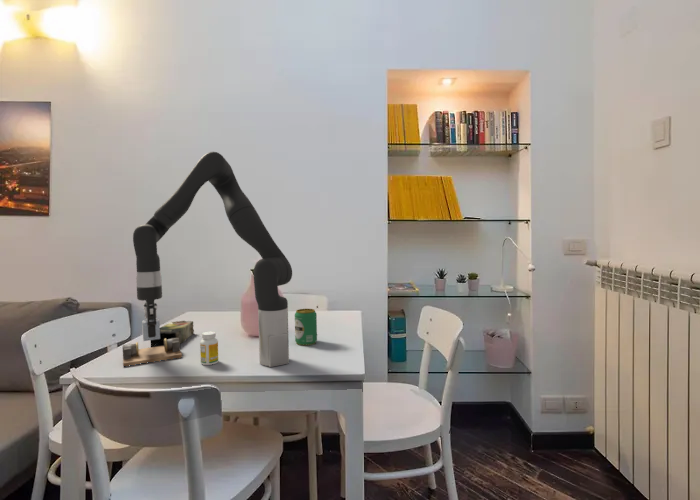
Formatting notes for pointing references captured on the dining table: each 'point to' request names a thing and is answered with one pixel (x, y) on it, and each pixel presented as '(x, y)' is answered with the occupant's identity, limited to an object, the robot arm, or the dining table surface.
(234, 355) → the dining table surface
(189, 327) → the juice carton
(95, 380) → the dining table surface
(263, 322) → the robot arm
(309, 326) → the beverage can
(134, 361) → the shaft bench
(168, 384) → the dining table surface
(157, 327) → the block
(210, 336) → the supplement bottle
